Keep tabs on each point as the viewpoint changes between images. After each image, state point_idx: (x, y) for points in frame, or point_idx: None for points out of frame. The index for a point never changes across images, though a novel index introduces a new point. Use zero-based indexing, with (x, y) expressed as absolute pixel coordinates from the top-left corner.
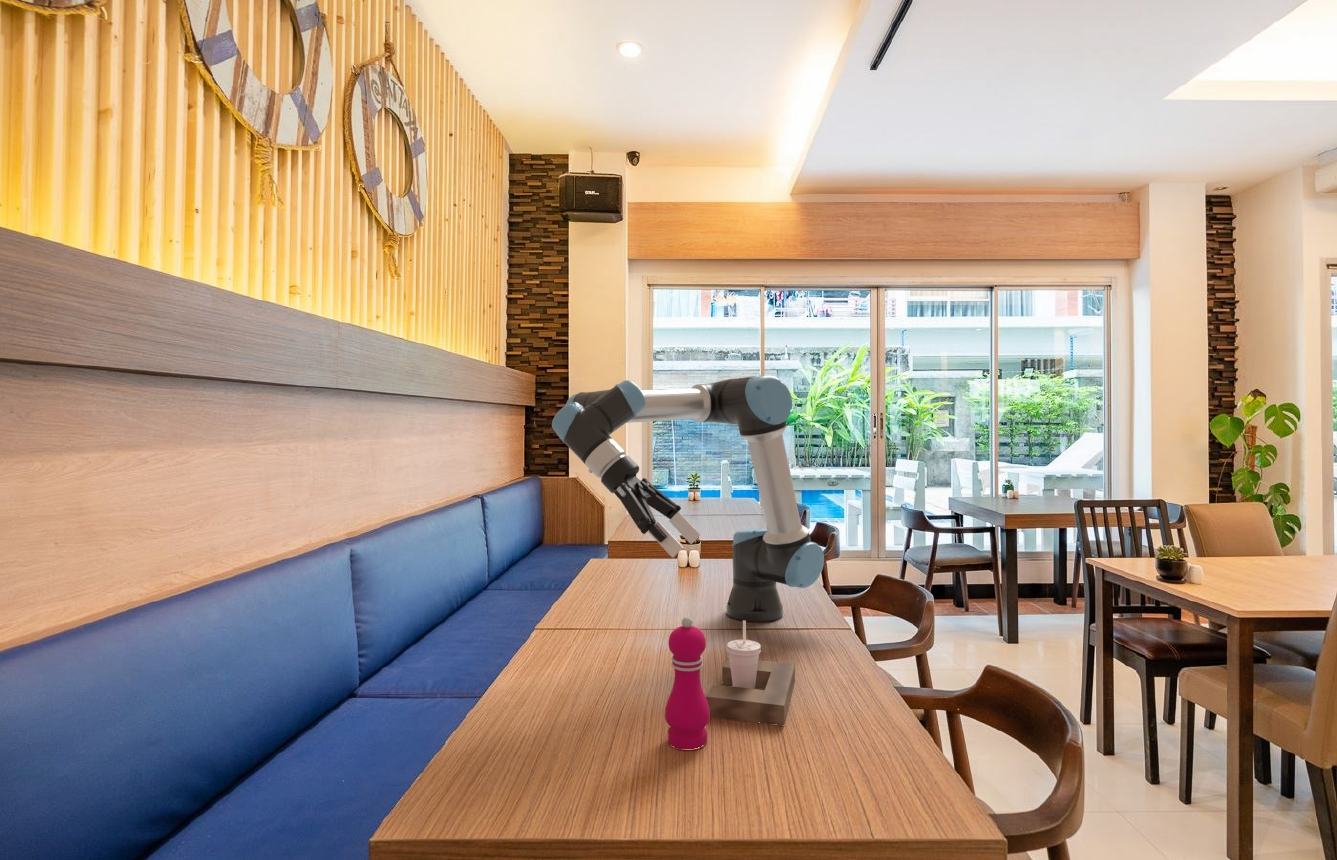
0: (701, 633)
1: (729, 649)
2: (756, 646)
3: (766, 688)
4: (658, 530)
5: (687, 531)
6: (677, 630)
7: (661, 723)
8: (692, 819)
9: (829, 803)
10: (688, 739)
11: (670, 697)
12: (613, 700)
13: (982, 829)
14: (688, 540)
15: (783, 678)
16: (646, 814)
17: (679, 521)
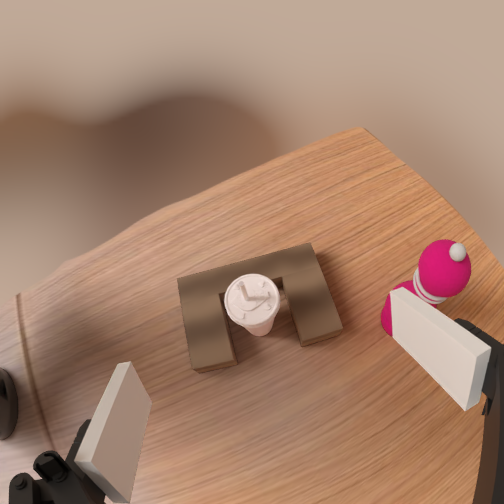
0: (441, 240)
1: (275, 312)
2: (246, 280)
3: (275, 276)
4: (487, 335)
5: (132, 412)
6: (467, 265)
7: (384, 368)
8: (473, 250)
9: (396, 188)
10: None
11: None
12: (363, 458)
13: (355, 128)
14: (147, 411)
15: (232, 272)
16: (491, 278)
17: (116, 450)
